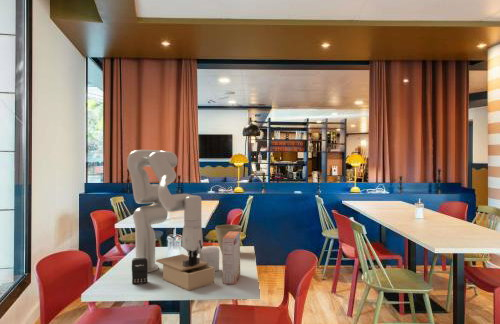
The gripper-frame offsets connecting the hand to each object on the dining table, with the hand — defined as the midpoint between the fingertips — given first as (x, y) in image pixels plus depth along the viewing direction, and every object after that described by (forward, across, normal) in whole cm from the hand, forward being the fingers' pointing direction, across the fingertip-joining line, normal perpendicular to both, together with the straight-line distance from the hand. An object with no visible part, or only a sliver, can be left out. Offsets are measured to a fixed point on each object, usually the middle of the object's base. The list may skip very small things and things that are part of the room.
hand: (192, 264), depth 162 cm
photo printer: (+9, -10, +17) cm, 22 cm away
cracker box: (+9, +6, +17) cm, 20 cm away
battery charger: (+9, -18, -16) cm, 26 cm away
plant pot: (+9, -28, +45) cm, 54 cm away
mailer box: (+9, -5, +1) cm, 10 cm away
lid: (+1, -10, +1) cm, 10 cm away
